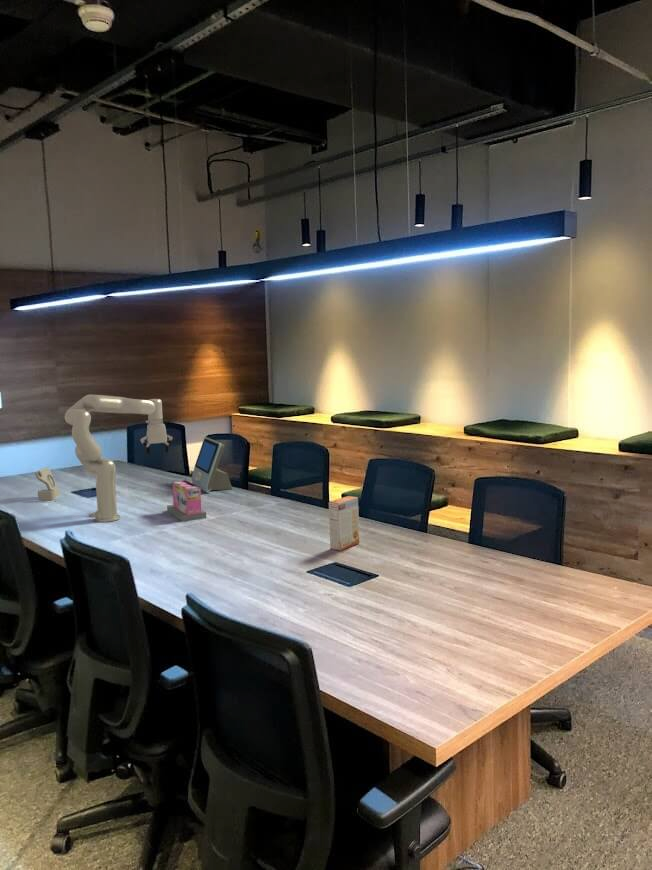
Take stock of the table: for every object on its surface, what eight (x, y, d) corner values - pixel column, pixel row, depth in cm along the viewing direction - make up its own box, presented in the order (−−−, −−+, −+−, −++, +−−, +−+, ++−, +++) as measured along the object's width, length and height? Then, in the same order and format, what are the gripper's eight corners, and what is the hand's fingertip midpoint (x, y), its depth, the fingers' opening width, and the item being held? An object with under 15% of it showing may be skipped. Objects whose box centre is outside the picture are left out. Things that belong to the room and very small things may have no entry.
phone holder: (53, 501, 414) (51, 471, 412) (36, 502, 414) (34, 471, 412) (65, 495, 431) (63, 466, 429) (49, 495, 432) (46, 466, 429)
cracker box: (349, 541, 317) (348, 495, 315) (359, 543, 314) (359, 496, 311) (329, 549, 307) (327, 501, 304) (340, 551, 303) (339, 503, 300)
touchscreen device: (189, 484, 456) (188, 437, 453) (218, 482, 464) (218, 436, 461) (203, 494, 425) (203, 444, 421) (235, 491, 433) (235, 442, 430)
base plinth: (181, 521, 361) (181, 515, 360) (167, 510, 385) (167, 505, 384) (206, 517, 367) (206, 512, 366) (190, 507, 390) (190, 502, 390)
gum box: (172, 506, 382) (170, 481, 380) (186, 504, 386) (185, 479, 384) (187, 515, 361) (185, 488, 359) (202, 512, 365) (200, 486, 363)
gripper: (141, 423, 378) (143, 455, 380) (173, 421, 386) (175, 452, 388) (138, 422, 385) (139, 454, 387) (169, 420, 392) (171, 451, 395)
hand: (157, 453), depth 387 cm, fingers open, 9 cm apart
